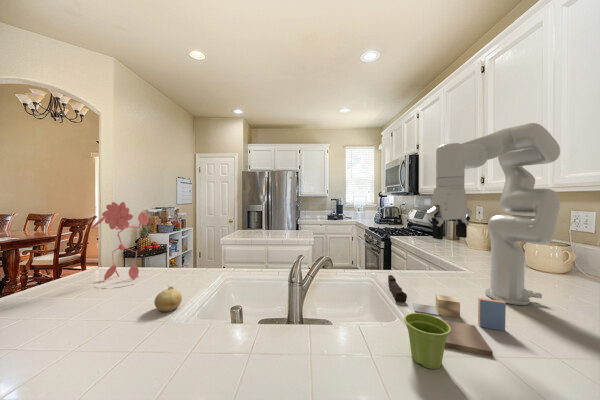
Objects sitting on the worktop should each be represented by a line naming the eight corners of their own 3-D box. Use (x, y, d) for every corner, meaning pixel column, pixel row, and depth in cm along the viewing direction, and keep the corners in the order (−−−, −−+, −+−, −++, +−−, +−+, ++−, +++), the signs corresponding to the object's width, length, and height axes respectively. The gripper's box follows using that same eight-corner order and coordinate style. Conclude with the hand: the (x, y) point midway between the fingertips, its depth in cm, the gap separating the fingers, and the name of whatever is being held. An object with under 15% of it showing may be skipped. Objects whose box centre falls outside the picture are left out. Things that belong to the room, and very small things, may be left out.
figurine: (102, 275, 107) (101, 201, 106) (156, 276, 107) (156, 201, 106) (69, 289, 92) (67, 202, 91) (132, 290, 92) (131, 203, 91)
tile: (503, 328, 66) (503, 301, 66) (505, 331, 65) (506, 303, 65) (477, 324, 68) (478, 297, 68) (480, 327, 67) (480, 299, 67)
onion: (185, 308, 76) (185, 287, 76) (158, 317, 71) (158, 294, 71) (176, 301, 82) (177, 281, 82) (151, 309, 76) (151, 287, 76)
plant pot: (397, 346, 58) (397, 311, 58) (435, 347, 58) (435, 312, 58) (414, 374, 49) (415, 333, 48) (460, 376, 48) (460, 335, 48)
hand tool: (407, 304, 82) (407, 291, 82) (395, 302, 83) (395, 290, 83) (396, 284, 100) (396, 274, 100) (386, 283, 101) (386, 273, 101)
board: (474, 329, 66) (474, 325, 66) (492, 356, 54) (492, 351, 54) (419, 319, 70) (419, 316, 70) (425, 342, 59) (426, 338, 59)
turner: (455, 311, 77) (455, 296, 76) (460, 319, 71) (461, 303, 71) (413, 304, 81) (413, 290, 81) (414, 312, 75) (415, 297, 75)
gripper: (459, 184, 78) (458, 234, 78) (418, 184, 73) (418, 237, 73) (482, 183, 71) (481, 238, 71) (438, 182, 66) (438, 241, 66)
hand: (449, 237), depth 72 cm, fingers open, 9 cm apart
